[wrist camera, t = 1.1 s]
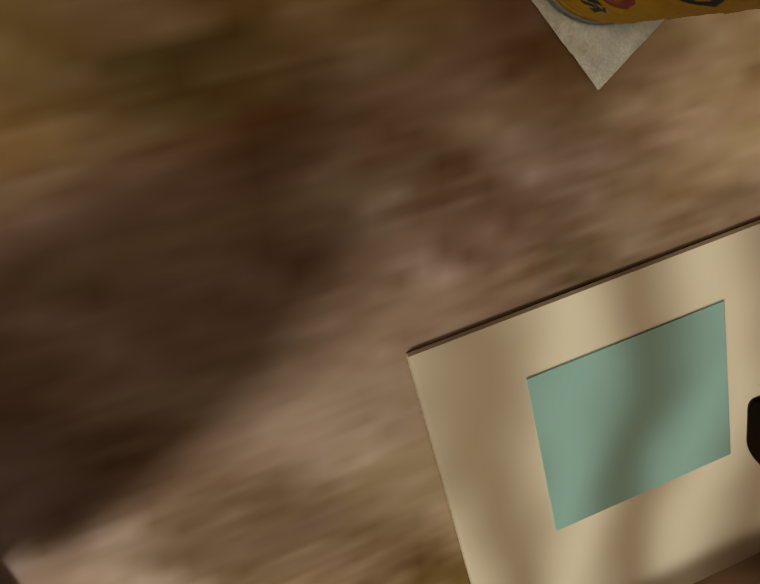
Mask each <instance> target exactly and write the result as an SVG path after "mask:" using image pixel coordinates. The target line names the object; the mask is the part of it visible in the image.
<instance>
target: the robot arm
mask: <svg viewBox="0 0 760 584" xmlns="http://www.w3.org/2000/svg"><path fill="white" fill-rule="evenodd" d="M746 443H747V447H748V449H749V452H750V453H751V455H752V457H753V458H754V459H755V460H756V461H757V463H758V464H759V465H760V395H759V396H756V397H754V398H752V399H751V400H750V402H749V403H748V407H747V433H746Z"/></svg>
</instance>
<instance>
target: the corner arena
mask: <svg viewBox="0 0 760 584" xmlns="http://www.w3.org/2000/svg"><path fill="white" fill-rule="evenodd" d="M406 356H407V359H408V363H409V366H410V370H411V374H412V377H413V381H414V384H415V388H416V391H417V395H418V398H419V402H420V405H421V409H422V413H423V416H424V420H425V423H426V427H427V430H428V434H429V437H430V441H431V444H432V448H433V452H434V455H435V459H436V462H437V466H438V469H439V473H440V476H441V480H442V483H443V487H444V491H445V494H446V498H447V501H448V505H449V508H450V512H451V515H452V519H453V522H454V526H455V530H456V533H457V537H458V540H459V544H460V547H461V551H462V554H463V558H464V562H465V565H466V569H467V572H468V576H469V579H470V583H471V584H760V465H759V464H758V463H757V461H756V460H755V459H754V458H753V457H752V455H751V453H750V452H749V449H748V447H747V443H746V433H747V407H748V403H749V402H750V400H751V399H752V398H754V397H756V396H759V395H760V220H758V221H755V222H752V223H750V224H747V225H744V226H742V227H739V228H737V229H734V230H731V231H729V232H726V233H723V234H721V235H718V236H715V237H713V238H710V239H708V240H705V241H702V242H700V243H697V244H694V245H692V246H689V247H686V248H684V249H681V250H678V251H676V252H673V253H671V254H668V255H665V256H663V257H660V258H657V259H655V260H652V261H649V262H647V263H644V264H641V265H639V266H636V267H634V268H631V269H628V270H626V271H623V272H620V273H618V274H615V275H612V276H610V277H607V278H604V279H602V280H599V281H597V282H594V283H591V284H589V285H586V286H583V287H581V288H578V289H575V290H573V291H570V292H567V293H565V294H562V295H560V296H557V297H554V298H552V299H549V300H546V301H544V302H541V303H538V304H536V305H533V306H531V307H528V308H525V309H523V310H520V311H517V312H515V313H512V314H509V315H507V316H504V317H501V318H499V319H496V320H494V321H491V322H488V323H486V324H483V325H480V326H478V327H475V328H472V329H470V330H467V331H464V332H462V333H459V334H457V335H454V336H451V337H449V338H446V339H443V340H441V341H438V342H435V343H433V344H430V345H427V346H425V347H422V348H420V349H417V350H414V351H412V352H409V353H406Z"/></svg>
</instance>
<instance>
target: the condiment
mask: <svg viewBox="0 0 760 584" xmlns="http://www.w3.org/2000/svg"><path fill="white" fill-rule="evenodd" d="M532 2H533V3H534V4H535V6H536V7H537V8H538V10H539V11H540V12H541V14H542V15H543V17H544V18H545V20H546V21H547V22H548V23H549V25H550V26H551V28H552V29H553V31H554V32H555V33H556V34H557V36H558V37H559V39H560V40H561V41H562V43H563V44H564V45H565V46H566V47H567V49H568V51H569V52H570V53H571V54H572V55H574V57H575V59H576V60H577V62H578V63H579V64H580V66H581V67H582V69H583V70H584V71H585V73H586V74H587V75H588V77H589V78H590V80H591V81H592V82H593V84H594V85H595V87H596V88H597V90H599V89H600V88H601V87H602V86H603V85H604V84H605V83H606V82H607V81H608V80H609V79H610V78H611V76H612V75H613V74H614V73H615V72H616V71H617V70H618V69H619V68H620V67H621V66H622V65H623V63H624V62H625V61H626V60H627V59H628V58H629V57H630V56H631V55H632V53H633V52H634V51H635V50H636V49H637V48H638V47H639V46H640V45H641V44H642V43H644V42H645V41H646V40H647V38H648V37H649V35H650V34H651V33H652V32H653V31H654V30H655V29H656V28H657V27H658V26H659V25H660V24H661V23H662V22H663V21H664V20H665V19H672V18H680V17H687V16H697V15H705V14H716V13H725V14H727V13H734V12H739V11H744V10H750V9H760V0H532Z"/></svg>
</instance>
